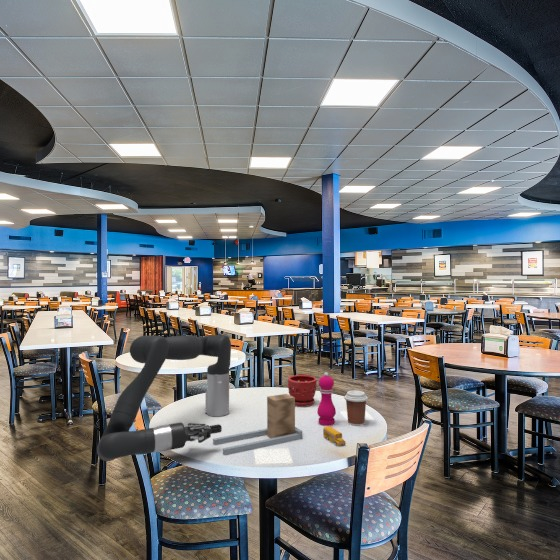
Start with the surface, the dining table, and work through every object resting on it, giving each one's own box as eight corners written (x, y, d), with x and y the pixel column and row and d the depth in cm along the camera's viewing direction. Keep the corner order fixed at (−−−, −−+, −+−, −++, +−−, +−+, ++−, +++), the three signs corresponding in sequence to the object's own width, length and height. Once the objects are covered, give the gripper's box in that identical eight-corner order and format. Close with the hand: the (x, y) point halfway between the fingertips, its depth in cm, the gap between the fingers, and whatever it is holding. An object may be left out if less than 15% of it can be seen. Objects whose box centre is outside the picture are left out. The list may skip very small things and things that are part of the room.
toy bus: (338, 447, 136) (338, 436, 136) (323, 437, 145) (323, 427, 145) (346, 446, 138) (346, 434, 138) (330, 436, 146) (330, 425, 147)
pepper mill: (316, 420, 164) (316, 370, 164) (334, 420, 164) (334, 370, 164) (318, 426, 157) (317, 374, 157) (336, 426, 157) (336, 374, 157)
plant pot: (282, 404, 187) (282, 378, 187) (299, 398, 197) (299, 373, 197) (305, 409, 178) (304, 382, 178) (322, 403, 188) (322, 377, 188)
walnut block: (275, 441, 141) (275, 400, 141) (267, 435, 146) (267, 396, 146) (295, 437, 144) (294, 397, 145) (286, 432, 150) (286, 393, 150)
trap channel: (224, 456, 129) (224, 446, 129) (213, 444, 139) (213, 435, 139) (302, 439, 143) (302, 430, 143) (286, 430, 153) (286, 422, 153)
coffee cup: (343, 419, 165) (343, 389, 165) (366, 419, 164) (366, 389, 164) (345, 426, 156) (344, 395, 156) (369, 427, 155) (369, 395, 155)
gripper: (173, 431, 120) (228, 422, 129) (163, 419, 132) (214, 411, 140) (173, 457, 120) (228, 446, 128) (162, 442, 132) (214, 433, 140)
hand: (220, 428), depth 134 cm, fingers closed
